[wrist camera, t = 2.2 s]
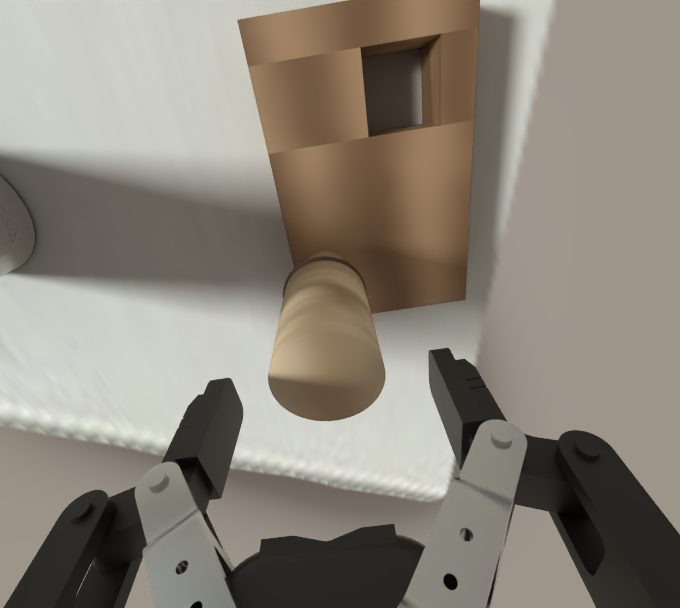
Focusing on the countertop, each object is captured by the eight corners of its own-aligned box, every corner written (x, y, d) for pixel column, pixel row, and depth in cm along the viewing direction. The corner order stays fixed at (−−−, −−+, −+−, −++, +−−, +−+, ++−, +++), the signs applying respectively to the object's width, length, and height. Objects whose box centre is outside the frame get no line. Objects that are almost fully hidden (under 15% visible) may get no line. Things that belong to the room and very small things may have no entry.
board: (308, 298, 29) (307, 323, 25) (252, 36, 20) (237, 19, 16) (447, 277, 28) (465, 299, 25) (452, 1, 20) (481, -23, 16)
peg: (296, 307, 25) (281, 429, 15) (281, 242, 22) (250, 340, 13) (364, 297, 24) (391, 413, 15) (355, 231, 22) (382, 320, 12)
